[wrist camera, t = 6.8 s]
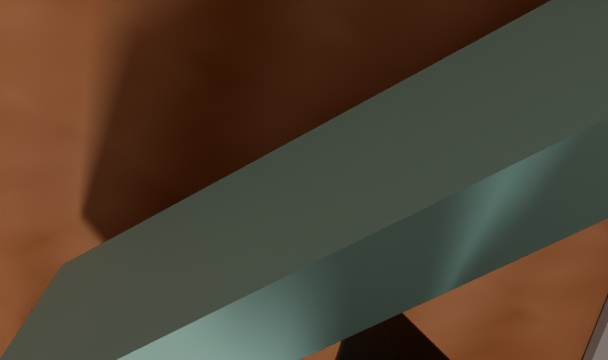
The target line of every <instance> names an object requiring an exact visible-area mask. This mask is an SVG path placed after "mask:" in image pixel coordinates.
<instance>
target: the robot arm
mask: <svg viewBox="0 0 608 360" xmlns="http://www.w3.org/2000/svg"><path fill="white" fill-rule="evenodd" d="M335 360H450V359H449V358H448V357H447V356H446V355H445V354H444V353H443V352H442V351H441V350H440V349H439V348H438V347H437V346H436V345H435V344H434V343H433V342H432V341H431V340H429V339H428V338H427V337H426V336H425V335H424V334H423V333H422V332H421V331H420V330H419V329H418V328H417V327H416V326H415V325H414V324H413V323H412V322H411V321H410V320H409V319H408V318H407V317H406V316H405V315H404V314H403V313H400V314H398V315H396V316H394V317H391V318H389V319H387V320H385V321H383V322H381V323H378V324H376V325H374V326H372V327H370V328H367V329H365V330H363V331H361V332H359V333H357V334H354V335H352V336H350V337H348V338H346V339H343V340H341V343H340V346H339V349H338V352H337V355H336V358H335Z"/></svg>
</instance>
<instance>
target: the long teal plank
mask: <svg viewBox="0 0 608 360" xmlns="http://www.w3.org/2000/svg"><path fill="white" fill-rule="evenodd" d="M607 218H608V0H551V1H549V2H547V3H545V4H543V5H541V6H540V7H538V8H536V9H534V10H532V11H530V12H528V13H527V14H525V15H523V16H521V17H519V18H517V19H516V20H514V21H512V22H510V23H508V24H506V25H504V26H503V27H501V28H499V29H497V30H495V31H493V32H492V33H490V34H488V35H486V36H484V37H482V38H480V39H479V40H477V41H475V42H473V43H471V44H469V45H468V46H466V47H464V48H462V49H460V50H458V51H457V52H455V53H453V54H451V55H449V56H447V57H445V58H444V59H442V60H440V61H438V62H436V63H434V64H433V65H431V66H429V67H427V68H425V69H423V70H421V71H420V72H418V73H416V74H414V75H412V76H410V77H409V78H407V79H405V80H403V81H401V82H399V83H397V84H396V85H394V86H392V87H390V88H388V89H386V90H385V91H383V92H381V93H379V94H377V95H375V96H373V97H372V98H370V99H368V100H366V101H364V102H362V103H361V104H359V105H357V106H355V107H353V108H351V109H350V110H348V111H346V112H344V113H342V114H340V115H338V116H337V117H335V118H333V119H331V120H329V121H327V122H326V123H324V124H322V125H320V126H318V127H316V128H314V129H313V130H311V131H309V132H307V133H305V134H303V135H302V136H300V137H298V138H296V139H294V140H292V141H290V142H289V143H287V144H285V145H283V146H281V147H279V148H278V149H276V150H274V151H272V152H270V153H268V154H266V155H265V156H263V157H261V158H259V159H257V160H255V161H254V162H252V163H250V164H248V165H246V166H244V167H243V168H241V169H239V170H237V171H235V172H233V173H231V174H230V175H228V176H226V177H224V178H222V179H220V180H219V181H217V182H215V183H213V184H211V185H209V186H207V187H206V188H204V189H202V190H200V191H198V192H196V193H195V194H193V195H191V196H189V197H187V198H185V199H183V200H182V201H180V202H178V203H176V204H174V205H172V206H171V207H169V208H167V209H165V210H163V211H161V212H159V213H158V214H156V215H154V216H152V217H150V218H148V219H147V220H145V221H143V222H141V223H139V224H137V225H136V226H134V227H132V228H130V229H128V230H126V231H124V232H123V233H121V234H119V235H117V236H115V237H113V238H112V239H110V240H108V241H106V242H104V243H102V244H100V245H99V246H97V247H95V248H93V249H91V250H89V251H88V252H86V253H84V254H82V255H80V256H78V257H76V258H75V259H73V260H71V261H69V262H67V263H65V264H64V265H62V266H61V268H60V269H59V271H58V272H57V274H56V275H55V277H54V278H53V280H52V281H51V283H50V284H49V286H48V287H47V289H46V290H45V292H44V293H43V295H42V296H41V298H40V299H39V301H38V302H37V304H36V305H35V307H34V309H33V310H32V312H31V313H30V315H29V316H28V318H27V319H26V321H25V322H24V324H23V325H22V327H21V328H20V330H19V331H18V333H17V334H16V336H15V337H14V339H13V340H12V342H11V343H10V345H9V346H8V348H7V349H6V351H5V352H4V354H3V355H2V357H1V359H0V360H300V359H302V358H304V357H306V356H309V355H311V354H313V353H315V352H317V351H320V350H322V349H324V348H326V347H328V346H330V345H333V344H335V343H337V342H339V341H341V340H343V339H346V338H348V337H350V336H352V335H354V334H357V333H359V332H361V331H363V330H365V329H367V328H370V327H372V326H374V325H376V324H378V323H381V322H383V321H385V320H387V319H389V318H391V317H394V316H396V315H398V314H400V313H402V312H405V311H407V310H409V309H411V308H413V307H415V306H418V305H420V304H422V303H424V302H426V301H428V300H431V299H433V298H435V297H437V296H439V295H442V294H444V293H446V292H448V291H450V290H452V289H455V288H457V287H459V286H461V285H463V284H466V283H468V282H470V281H472V280H474V279H476V278H479V277H481V276H483V275H485V274H487V273H490V272H492V271H494V270H496V269H498V268H500V267H503V266H505V265H507V264H509V263H511V262H513V261H516V260H518V259H520V258H522V257H524V256H527V255H529V254H531V253H533V252H535V251H537V250H540V249H542V248H544V247H546V246H548V245H551V244H553V243H555V242H557V241H559V240H561V239H564V238H566V237H568V236H570V235H572V234H575V233H577V232H579V231H581V230H583V229H585V228H588V227H590V226H592V225H594V224H596V223H598V222H601V221H603V220H605V219H607Z"/></svg>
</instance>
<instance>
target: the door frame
mask: <svg viewBox="0 0 608 360" xmlns="http://www.w3.org/2000/svg"><path fill="white" fill-rule="evenodd" d="M583 360H608V298H607V300H606V303H605V305H604V308H603V310H602V313H601V315H600V318H599V320H598V323H597V325H596V328H595V330H594V333H593V335H592V338H591V340H590V343H589V345H588V347H587V350H586V352H585V355H584V357H583Z"/></svg>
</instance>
